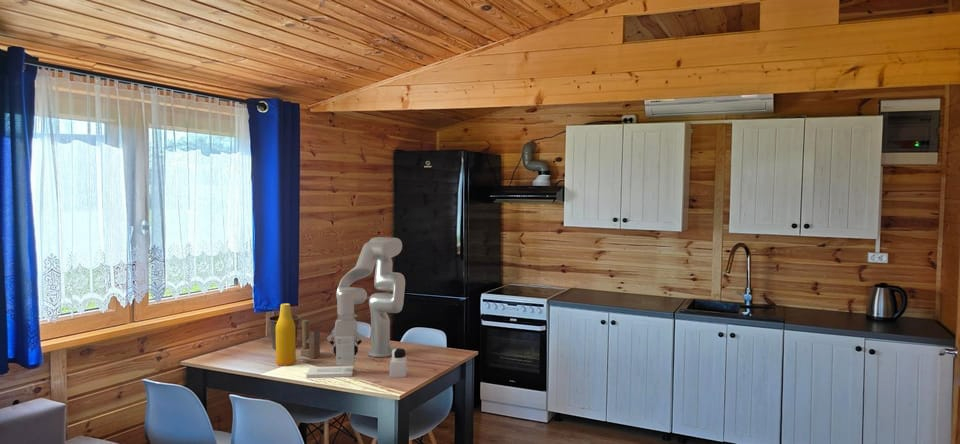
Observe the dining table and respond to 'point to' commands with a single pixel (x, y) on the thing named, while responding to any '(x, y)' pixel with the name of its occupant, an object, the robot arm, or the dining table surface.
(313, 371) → the board
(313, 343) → the wooden block
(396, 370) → the medicine bottle
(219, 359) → the dining table surface
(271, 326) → the plant pot
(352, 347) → the small box
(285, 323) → the beer bottle
